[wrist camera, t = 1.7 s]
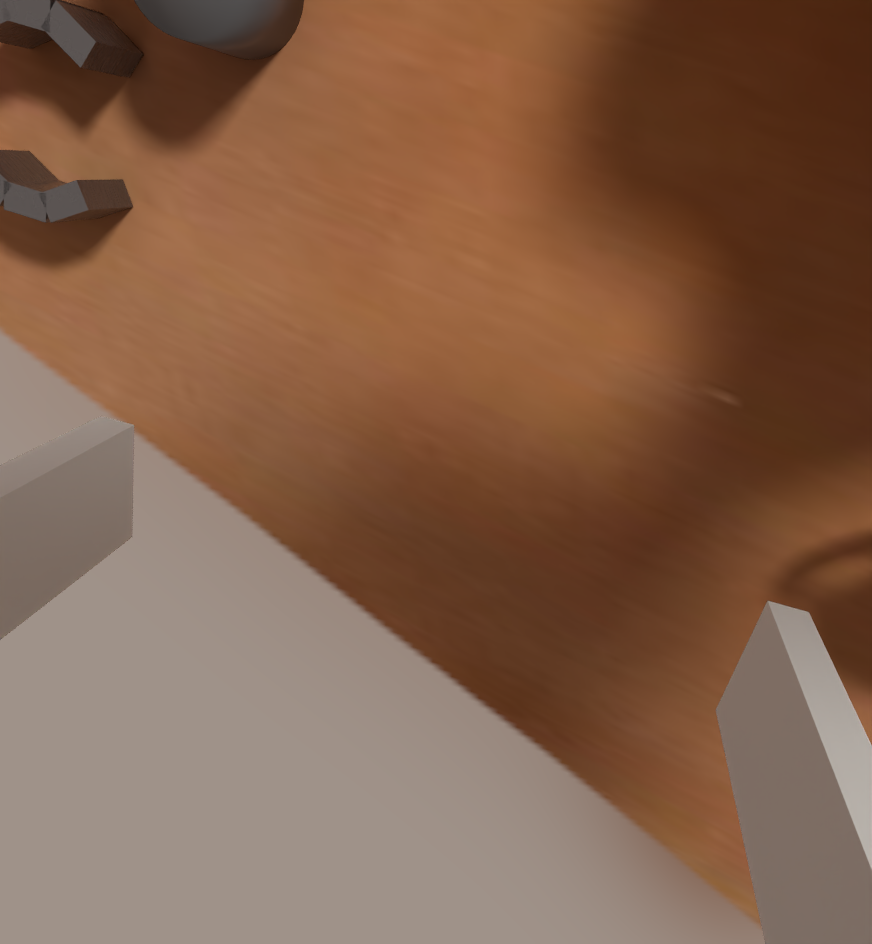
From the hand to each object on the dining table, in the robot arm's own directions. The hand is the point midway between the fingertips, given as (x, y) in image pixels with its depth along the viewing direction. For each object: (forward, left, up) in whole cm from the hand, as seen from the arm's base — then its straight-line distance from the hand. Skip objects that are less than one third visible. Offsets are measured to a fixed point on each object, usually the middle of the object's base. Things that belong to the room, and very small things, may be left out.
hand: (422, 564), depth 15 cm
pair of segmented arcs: (-3, -28, -27) cm, 39 cm away
